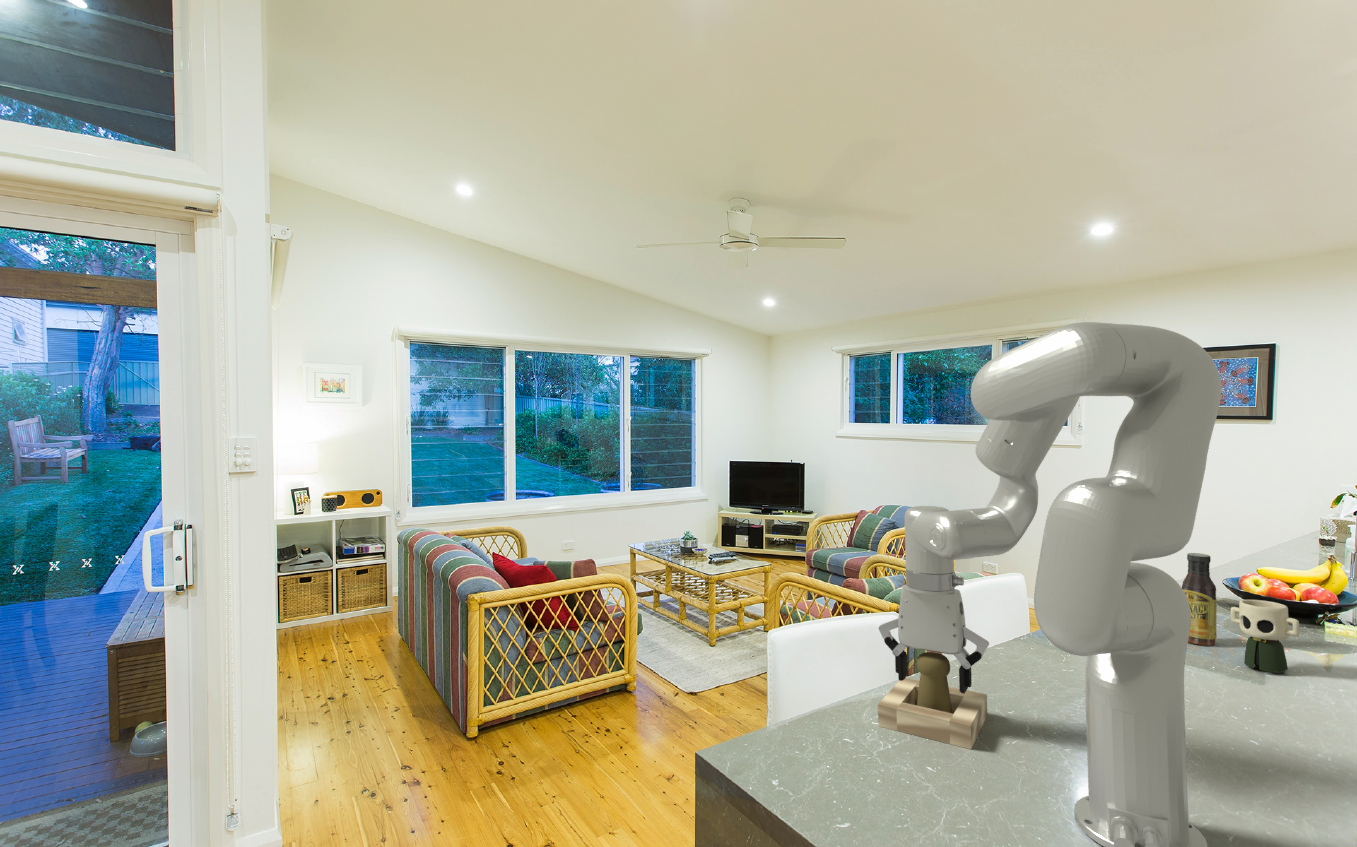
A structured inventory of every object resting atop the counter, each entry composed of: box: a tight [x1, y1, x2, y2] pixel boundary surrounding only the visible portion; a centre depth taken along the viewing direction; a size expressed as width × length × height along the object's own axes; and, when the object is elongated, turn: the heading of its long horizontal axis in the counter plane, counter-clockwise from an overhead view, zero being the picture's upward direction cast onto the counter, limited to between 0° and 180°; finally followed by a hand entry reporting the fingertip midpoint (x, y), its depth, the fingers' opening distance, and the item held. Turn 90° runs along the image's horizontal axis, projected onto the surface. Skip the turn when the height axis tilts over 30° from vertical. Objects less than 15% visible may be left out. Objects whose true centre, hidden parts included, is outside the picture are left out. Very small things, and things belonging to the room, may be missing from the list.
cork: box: [916, 651, 953, 714], centre depth 104 cm, size 6×6×11 cm
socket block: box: [877, 677, 988, 750], centre depth 104 cm, size 14×14×4 cm
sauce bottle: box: [1181, 552, 1218, 647], centre depth 140 cm, size 6×6×20 cm
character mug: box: [1230, 599, 1301, 673], centre depth 124 cm, size 11×7×13 cm, turn 22°
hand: (932, 683), depth 104 cm, fingers open, 9 cm apart
